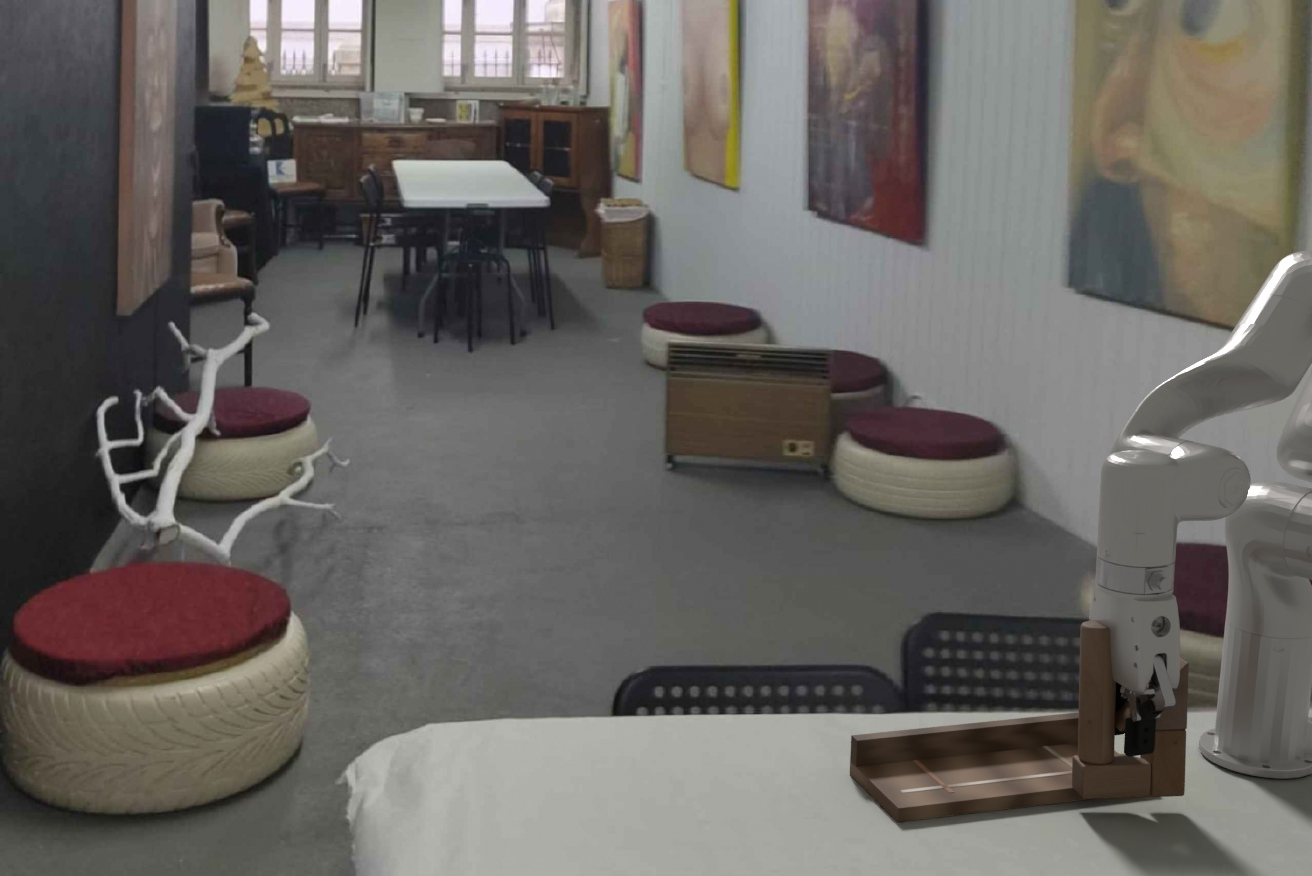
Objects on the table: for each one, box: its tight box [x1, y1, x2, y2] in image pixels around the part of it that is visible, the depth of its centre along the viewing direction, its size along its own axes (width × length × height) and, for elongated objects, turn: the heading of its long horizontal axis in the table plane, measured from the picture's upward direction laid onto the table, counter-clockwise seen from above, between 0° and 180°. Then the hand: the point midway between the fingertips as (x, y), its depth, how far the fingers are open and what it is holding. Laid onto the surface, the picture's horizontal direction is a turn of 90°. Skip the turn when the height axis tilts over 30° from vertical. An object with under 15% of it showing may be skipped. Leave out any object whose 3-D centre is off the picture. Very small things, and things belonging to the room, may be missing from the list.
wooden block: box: [1072, 620, 1190, 800], centre depth 153 cm, size 4×11×18 cm, turn 93°
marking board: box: [849, 711, 1120, 823], centre depth 160 cm, size 30×12×4 cm, turn 106°
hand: (1124, 742), depth 153 cm, fingers closed on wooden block, 4 cm apart
